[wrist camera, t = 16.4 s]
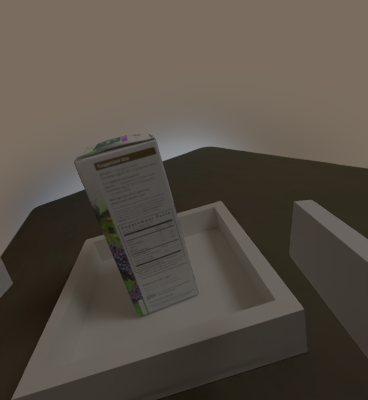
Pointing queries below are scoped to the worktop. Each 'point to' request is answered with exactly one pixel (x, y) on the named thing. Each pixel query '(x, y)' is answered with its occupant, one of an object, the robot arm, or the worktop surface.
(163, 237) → the syrup box
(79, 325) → the bin
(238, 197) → the worktop surface
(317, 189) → the worktop surface
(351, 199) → the worktop surface
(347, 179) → the worktop surface
